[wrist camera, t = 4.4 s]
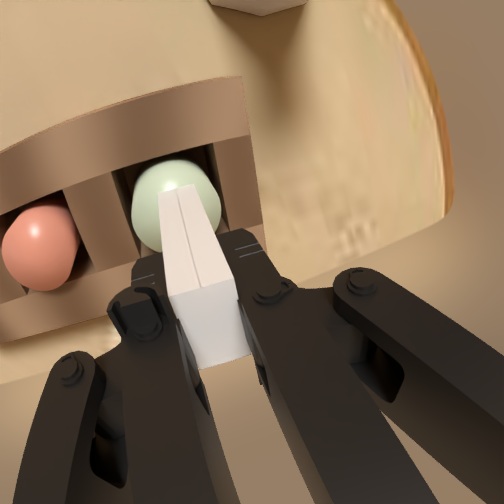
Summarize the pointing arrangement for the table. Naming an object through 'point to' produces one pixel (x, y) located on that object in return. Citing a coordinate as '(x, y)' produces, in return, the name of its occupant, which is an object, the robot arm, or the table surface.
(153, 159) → the button sage
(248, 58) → the table surface
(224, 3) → the flask
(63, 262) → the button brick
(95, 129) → the console
